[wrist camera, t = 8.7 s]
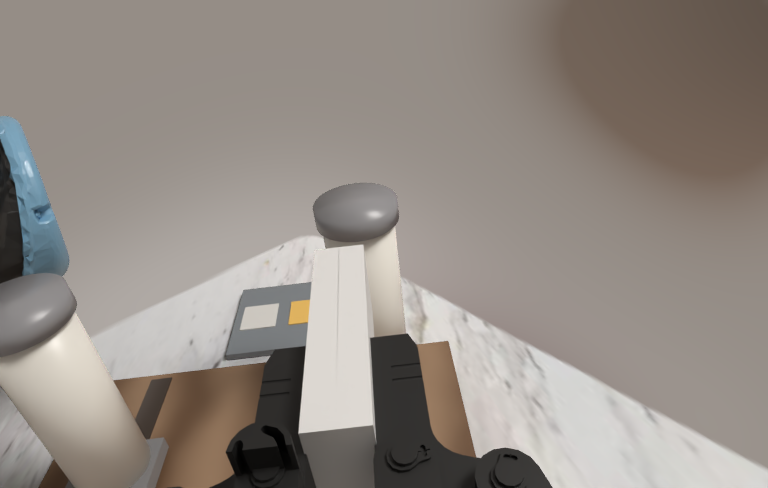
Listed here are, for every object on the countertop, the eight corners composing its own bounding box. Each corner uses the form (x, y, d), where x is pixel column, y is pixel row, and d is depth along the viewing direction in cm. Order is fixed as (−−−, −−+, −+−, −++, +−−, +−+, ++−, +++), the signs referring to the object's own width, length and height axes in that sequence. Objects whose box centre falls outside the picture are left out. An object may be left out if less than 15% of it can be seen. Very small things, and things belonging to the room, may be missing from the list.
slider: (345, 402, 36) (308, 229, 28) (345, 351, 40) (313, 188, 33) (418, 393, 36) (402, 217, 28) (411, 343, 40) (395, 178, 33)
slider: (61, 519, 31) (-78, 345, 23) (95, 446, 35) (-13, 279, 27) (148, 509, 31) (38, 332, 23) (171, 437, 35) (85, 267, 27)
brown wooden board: (19, 571, 31) (1, 554, 30) (104, 399, 42) (94, 381, 41) (485, 517, 31) (485, 497, 30) (449, 359, 42) (448, 340, 41)
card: (227, 360, 44) (225, 354, 44) (244, 294, 52) (243, 289, 51) (332, 347, 44) (330, 341, 44) (334, 284, 52) (333, 278, 51)
